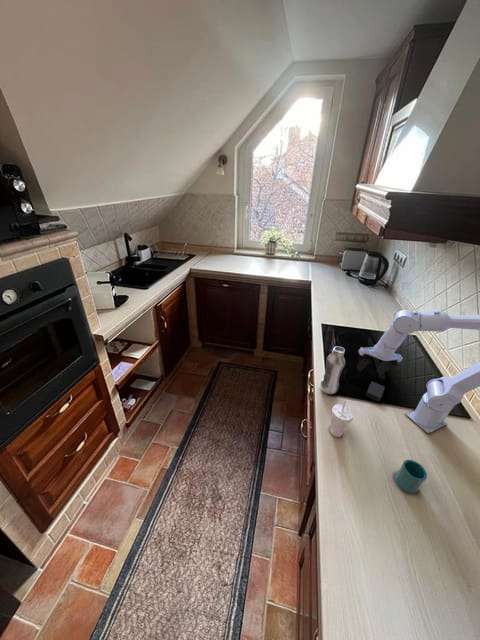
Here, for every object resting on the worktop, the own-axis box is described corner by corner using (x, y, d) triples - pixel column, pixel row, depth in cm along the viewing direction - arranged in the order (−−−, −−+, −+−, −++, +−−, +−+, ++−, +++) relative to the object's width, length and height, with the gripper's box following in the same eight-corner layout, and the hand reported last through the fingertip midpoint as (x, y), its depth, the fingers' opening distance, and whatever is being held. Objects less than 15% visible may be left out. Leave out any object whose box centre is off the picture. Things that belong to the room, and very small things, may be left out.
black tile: (370, 385, 103) (371, 381, 102) (383, 390, 100) (385, 386, 99) (365, 396, 97) (366, 392, 96) (379, 402, 95) (381, 398, 94)
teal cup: (404, 470, 73) (412, 456, 70) (422, 488, 69) (431, 475, 65) (390, 477, 71) (398, 464, 68) (408, 497, 67) (417, 483, 64)
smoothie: (342, 423, 86) (352, 394, 79) (349, 440, 81) (361, 410, 74) (323, 423, 86) (332, 394, 79) (330, 441, 80) (339, 410, 73)
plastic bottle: (337, 398, 96) (349, 356, 86) (318, 393, 98) (329, 352, 88) (337, 386, 101) (349, 346, 91) (319, 382, 103) (329, 342, 93)
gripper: (403, 339, 87) (382, 366, 95) (363, 331, 85) (346, 359, 93) (414, 353, 81) (391, 381, 89) (372, 345, 80) (352, 374, 88)
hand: (368, 371), depth 91 cm, fingers open, 7 cm apart
